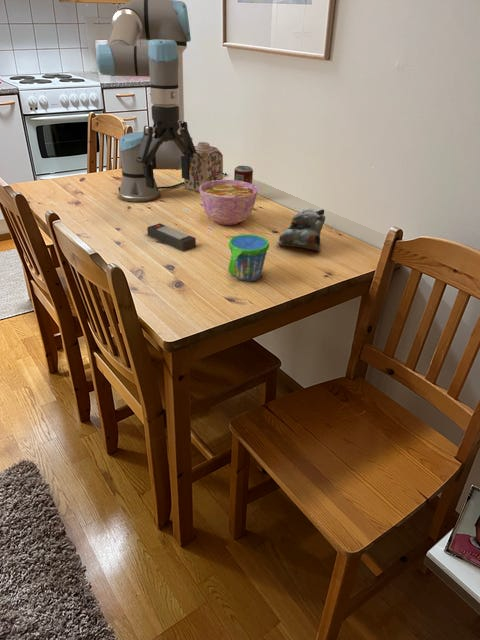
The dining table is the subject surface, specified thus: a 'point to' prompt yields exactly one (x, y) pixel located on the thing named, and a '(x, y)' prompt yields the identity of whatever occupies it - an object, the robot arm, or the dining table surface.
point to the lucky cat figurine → (304, 230)
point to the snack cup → (247, 256)
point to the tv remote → (171, 237)
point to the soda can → (243, 174)
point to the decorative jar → (204, 166)
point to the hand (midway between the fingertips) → (168, 183)
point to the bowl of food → (228, 200)
